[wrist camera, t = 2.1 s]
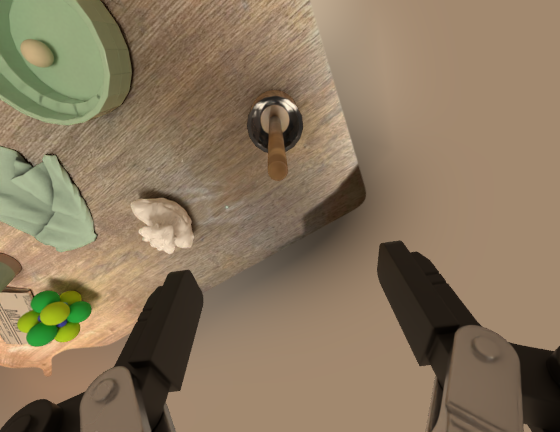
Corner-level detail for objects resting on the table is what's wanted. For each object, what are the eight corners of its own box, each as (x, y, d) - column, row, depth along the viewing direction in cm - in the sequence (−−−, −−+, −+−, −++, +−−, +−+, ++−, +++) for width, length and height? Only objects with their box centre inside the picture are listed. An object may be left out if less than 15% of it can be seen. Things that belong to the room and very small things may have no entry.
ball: (49, 37, 29) (30, 36, 26) (64, 64, 30) (47, 65, 28) (27, 41, 29) (6, 41, 27) (44, 68, 30) (25, 70, 28)
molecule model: (58, 321, 56) (76, 344, 52) (8, 326, 48) (25, 353, 44) (80, 287, 57) (99, 307, 53) (34, 286, 49) (53, 310, 45)
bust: (201, 224, 48) (217, 234, 39) (175, 254, 47) (185, 273, 37) (150, 182, 43) (154, 182, 33) (117, 214, 41) (111, 224, 31)
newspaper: (-34, 280, 52) (-45, 289, 50) (35, 284, 55) (27, 294, 53) (1, 336, 64) (-7, 346, 62) (55, 337, 67) (50, 346, 65)
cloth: (71, 260, 50) (63, 269, 48) (-62, 186, 40) (-79, 193, 38) (130, 209, 43) (123, 217, 41) (-11, 105, 33) (-29, 108, 31)
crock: (295, 85, 33) (299, 91, 28) (300, 136, 37) (305, 149, 32) (245, 94, 34) (241, 101, 29) (256, 143, 37) (254, 157, 32)
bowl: (89, -51, 25) (45, -76, 20) (154, 104, 34) (134, 113, 29) (-41, -20, 26) (-113, -37, 21) (54, 122, 35) (18, 134, 30)
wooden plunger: (286, 99, 34) (301, 144, 17) (290, 129, 36) (306, 193, 19) (258, 104, 34) (246, 154, 17) (263, 133, 36) (257, 200, 20)
